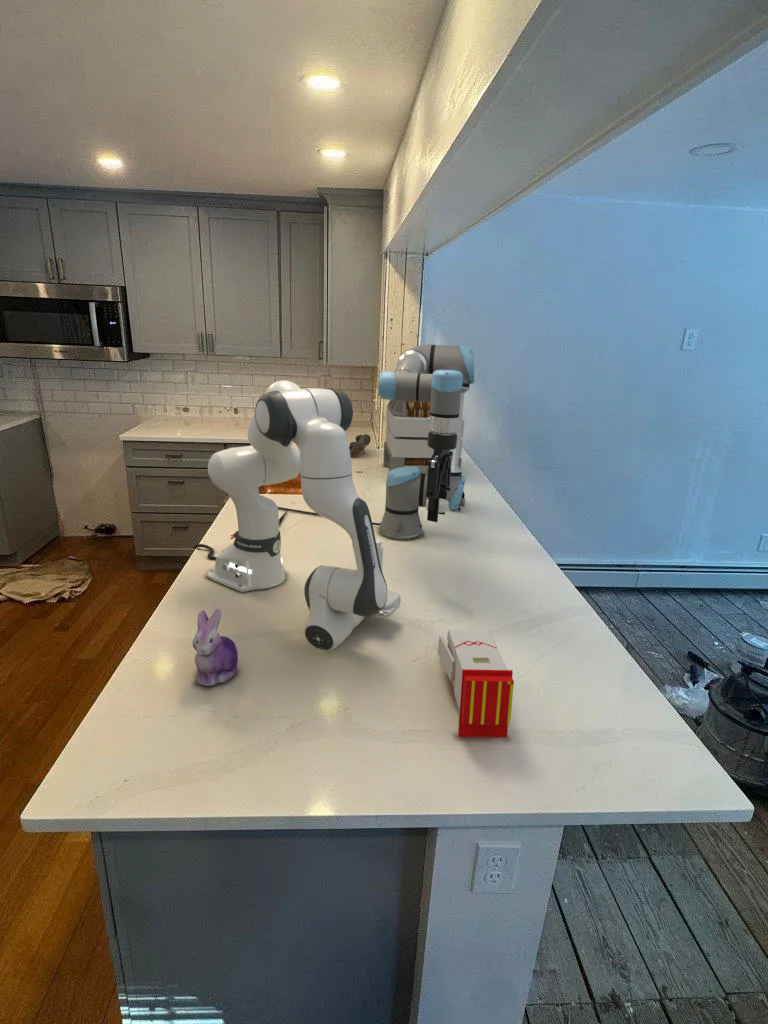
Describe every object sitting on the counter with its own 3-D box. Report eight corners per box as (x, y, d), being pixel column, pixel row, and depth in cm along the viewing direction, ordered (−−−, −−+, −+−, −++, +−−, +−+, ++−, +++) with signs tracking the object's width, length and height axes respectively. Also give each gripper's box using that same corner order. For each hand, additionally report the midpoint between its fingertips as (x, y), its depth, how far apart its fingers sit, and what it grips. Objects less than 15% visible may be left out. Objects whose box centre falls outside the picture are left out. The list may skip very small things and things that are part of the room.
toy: (488, 613, 130) (523, 677, 101) (484, 667, 133) (517, 744, 104) (435, 612, 130) (455, 676, 101) (432, 666, 133) (451, 743, 103)
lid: (440, 504, 156) (441, 496, 155) (452, 511, 151) (453, 503, 150) (421, 506, 153) (422, 499, 153) (433, 514, 148) (433, 506, 148)
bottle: (369, 612, 148) (371, 545, 141) (356, 604, 151) (358, 539, 145) (384, 606, 151) (387, 541, 145) (371, 598, 155) (374, 534, 148)
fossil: (346, 440, 316) (367, 425, 311) (357, 453, 319) (378, 438, 314) (340, 453, 296) (362, 438, 291) (351, 468, 299) (374, 452, 294)
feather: (294, 505, 227) (296, 501, 226) (277, 528, 200) (280, 524, 199) (290, 503, 226) (292, 499, 226) (273, 526, 200) (276, 521, 199)
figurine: (199, 693, 114) (193, 629, 109) (190, 666, 122) (184, 604, 117) (245, 682, 118) (242, 619, 113) (233, 656, 127) (230, 596, 122)
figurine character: (465, 515, 224) (460, 499, 237) (467, 498, 221) (462, 483, 234) (448, 515, 224) (444, 499, 237) (450, 498, 220) (445, 482, 234)
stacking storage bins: (382, 463, 289) (386, 382, 275) (445, 464, 293) (451, 384, 279) (390, 482, 257) (394, 392, 243) (460, 483, 261) (468, 394, 247)
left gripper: (389, 605, 133) (410, 581, 145) (313, 586, 140) (338, 565, 152) (388, 628, 135) (408, 602, 147) (313, 608, 142) (338, 586, 154)
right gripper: (440, 425, 155) (434, 505, 162) (416, 437, 138) (410, 525, 146) (467, 428, 152) (459, 509, 160) (445, 440, 136) (438, 530, 143)
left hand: (372, 583), depth 150 cm, fingers closed on bottle, 5 cm apart
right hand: (436, 517), depth 153 cm, fingers closed on lid, 6 cm apart
